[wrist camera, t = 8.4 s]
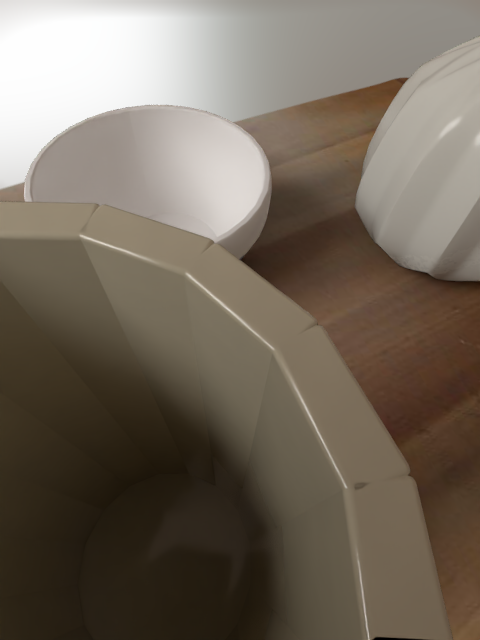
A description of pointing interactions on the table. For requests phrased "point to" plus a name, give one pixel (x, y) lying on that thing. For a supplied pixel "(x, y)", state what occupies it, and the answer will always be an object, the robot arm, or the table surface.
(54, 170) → the bowl
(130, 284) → the rice cup
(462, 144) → the vase
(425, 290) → the table surface
